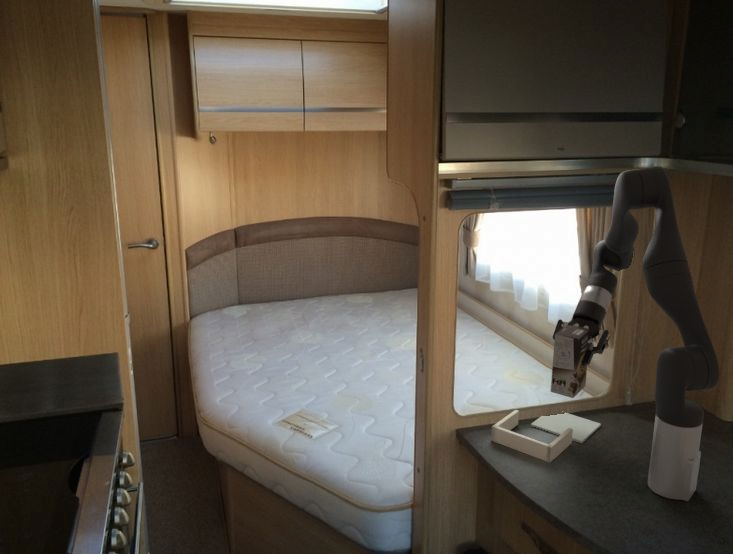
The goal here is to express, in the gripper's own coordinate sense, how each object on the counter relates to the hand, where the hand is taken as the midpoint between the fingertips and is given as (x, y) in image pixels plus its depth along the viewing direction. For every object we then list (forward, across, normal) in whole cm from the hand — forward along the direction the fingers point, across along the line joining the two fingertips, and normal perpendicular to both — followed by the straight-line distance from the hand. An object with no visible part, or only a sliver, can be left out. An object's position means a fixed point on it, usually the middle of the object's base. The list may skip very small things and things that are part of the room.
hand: (570, 361), depth 167 cm
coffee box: (+6, 0, +6) cm, 8 cm away
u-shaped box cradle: (+22, -3, +4) cm, 23 cm away
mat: (+13, 0, +13) cm, 19 cm away
